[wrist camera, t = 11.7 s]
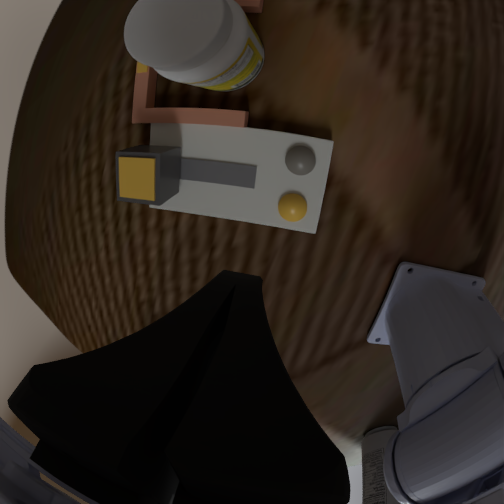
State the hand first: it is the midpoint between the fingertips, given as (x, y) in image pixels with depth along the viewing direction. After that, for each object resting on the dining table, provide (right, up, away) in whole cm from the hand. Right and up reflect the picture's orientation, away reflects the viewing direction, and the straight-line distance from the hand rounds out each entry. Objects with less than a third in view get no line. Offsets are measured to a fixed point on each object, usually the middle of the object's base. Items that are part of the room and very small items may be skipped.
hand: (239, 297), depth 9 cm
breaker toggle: (-6, +7, +7) cm, 12 cm away
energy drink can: (+19, -24, +21) cm, 37 cm away
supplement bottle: (-1, +14, +5) cm, 14 cm away
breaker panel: (-1, +7, +8) cm, 10 cm away
